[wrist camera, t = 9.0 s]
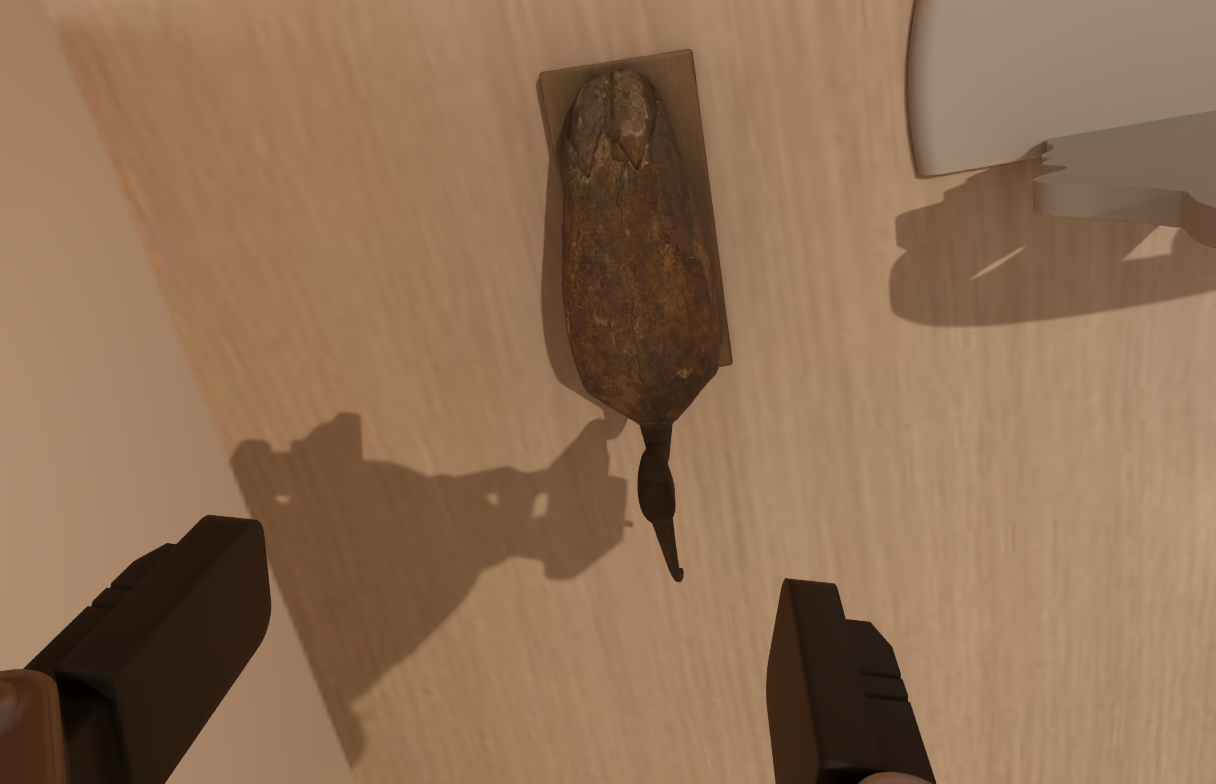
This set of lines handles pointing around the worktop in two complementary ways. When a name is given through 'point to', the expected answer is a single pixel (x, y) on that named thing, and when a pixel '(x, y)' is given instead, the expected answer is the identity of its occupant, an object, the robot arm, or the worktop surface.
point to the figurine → (639, 251)
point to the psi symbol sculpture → (1074, 102)
